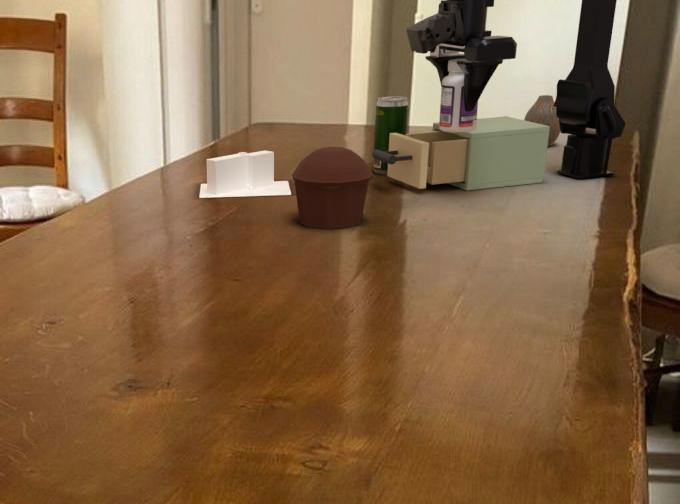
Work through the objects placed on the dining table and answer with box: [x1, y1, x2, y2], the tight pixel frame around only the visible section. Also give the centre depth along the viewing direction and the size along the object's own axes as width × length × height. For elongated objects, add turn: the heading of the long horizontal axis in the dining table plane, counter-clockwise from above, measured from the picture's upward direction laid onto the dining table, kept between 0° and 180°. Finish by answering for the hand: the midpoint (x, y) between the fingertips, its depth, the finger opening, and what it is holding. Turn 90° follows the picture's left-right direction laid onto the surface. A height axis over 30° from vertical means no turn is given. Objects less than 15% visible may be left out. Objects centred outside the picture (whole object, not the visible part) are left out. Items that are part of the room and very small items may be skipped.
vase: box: [523, 94, 561, 148], centre depth 189 cm, size 7×7×9 cm
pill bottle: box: [438, 59, 479, 132], centre depth 149 cm, size 5×5×10 cm
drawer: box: [371, 130, 469, 190], centre depth 162 cm, size 17×11×7 cm
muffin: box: [291, 146, 374, 230], centre depth 143 cm, size 12×11×10 cm
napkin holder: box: [198, 150, 292, 199], centre depth 166 cm, size 15×11×6 cm
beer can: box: [372, 95, 409, 176], centre depth 172 cm, size 5×5×12 cm
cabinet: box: [432, 115, 550, 191], centre depth 164 cm, size 14×13×9 cm
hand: (458, 108), depth 150 cm, fingers closed on pill bottle, 5 cm apart
